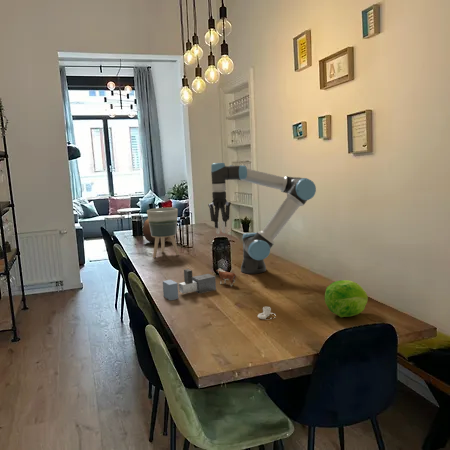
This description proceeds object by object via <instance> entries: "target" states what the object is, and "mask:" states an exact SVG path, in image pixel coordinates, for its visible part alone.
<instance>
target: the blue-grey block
mask: <svg viewBox="0 0 450 450" xmlns="http://www.w3.org/2000/svg"><path fill="white" fill-rule="evenodd" d="M162 293H163V294H162V295H163V297H164V298H166V299H167V300H168V301H174V300H178V299H179V282H176V281H175V280H172V279H167V280H162Z"/></svg>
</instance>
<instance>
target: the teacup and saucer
mask: <svg viewBox="0 0 450 450" xmlns="http://www.w3.org/2000/svg"><path fill="white" fill-rule="evenodd" d="M272 314H274V315H275V316H276V317H277V315H276V313H273V312H272V308H271V307H270V306H263V307H262V312H261V313H260V312H259V313H258V314H257V318H258V319H261V320H267V319H266V318H269V317H270V315H272ZM276 317H274V318H273V319H275V318H276ZM269 320H272V317H270V319H269Z"/></svg>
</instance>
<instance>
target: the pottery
mask: <svg viewBox="0 0 450 450" xmlns="http://www.w3.org/2000/svg"><path fill="white" fill-rule="evenodd" d="M142 234H143V236H144V238H145V240H146V241H147V242H149V243H151V244H155V237H152V236H151V231H150V226H149V221H148V218H146V220H144V222H143V225H142ZM167 240H169V237H165V242H167ZM158 244H161V238H159V243H158Z"/></svg>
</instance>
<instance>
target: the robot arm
mask: <svg viewBox="0 0 450 450" xmlns="http://www.w3.org/2000/svg"><path fill="white" fill-rule="evenodd" d="M210 168H211V170H210V171H211V173H210V174H211V175H210V176H211V187H212V188H211V191H212V194H211V195H212V196H211V197H212V202H211V203H208V205H207V206H208V207H209V214H210V215H209V216H210V221H211V222H213V223H214V228H215V234H217V235H220V234H221V233H222V234H226V227H227V222H228V221H229V220H230V212H231V211H230V210H231V209H230V207H231V204H232V203H231V202H230V201H228V200H227V192H226V190H227V186H226V181H231V180H234V181H235V180H236V181H237V180H238V181H242V182H246V183H250V184H254V185H259V186H263V187H267V188H271V189H276V190H279V191H280V192H282V193H285V194H286V197H285V199H284V201H283V202H282V203H281V205H280V206H279V207H278V209H277V210H276V211H275V212H274V214H272V216H271V218H270V219H269V220H268V222H266V225H265V226H264V227H263V228H262V230H259V231H256V232H246V233H243V234H242V251H243V252H242V258H243V259H242V262H241V266H240V272H241V273H243V274H248V275H249V274H253V275H255V274H262V273H264V272H265V273H266V271H267V266H266V263H265V259H266V258H268V257H269V256H270V254H271V248H272V247H273V246H274V243H275V241H274V240H275V239H276V238H277V237H278V235H279V234H280V233H281V231H282V230H283V229H284V227H285V225H286V224H287V223H288V222H289V221H290V219H291V218H292V217H293V215H294V214H295V213H296V211H297V210H298V209H299V207H304V205H305V204H306V203H307V201H310V200H311V199H312V198H314V196H315V195H316V193H317V189H316V188H317V187H316V184H315V183H314V181H312V180H311V179H309V178H307V177H299V176H298V177H295V176H293V177H292V176H287V175H285V176H280V175H275V174H271V173H267V172H263V171H259V170H255V169H250V168H247V166H246V165H234V164H231V165H228V166H227V165H225V162H213V163H212V164H211V167H210ZM219 212H220V213H221V218H222V220H221V223H220V222H219V215H220V214H219ZM220 224H221V226H220ZM220 229H221V231H220Z"/></svg>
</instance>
